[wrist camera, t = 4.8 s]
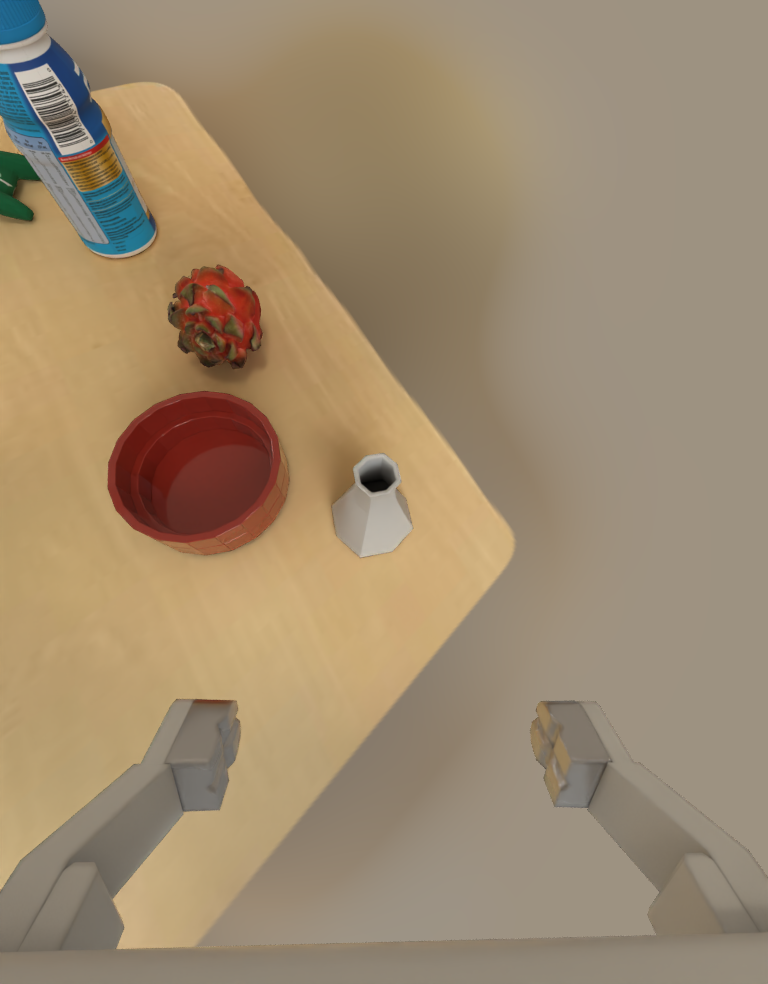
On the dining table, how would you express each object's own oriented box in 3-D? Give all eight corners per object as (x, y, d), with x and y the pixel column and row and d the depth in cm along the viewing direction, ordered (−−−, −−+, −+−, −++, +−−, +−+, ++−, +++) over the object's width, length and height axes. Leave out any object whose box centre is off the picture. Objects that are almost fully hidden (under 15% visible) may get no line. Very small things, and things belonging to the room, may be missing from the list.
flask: (355, 572, 34) (355, 545, 25) (318, 503, 36) (304, 454, 27) (426, 533, 36) (450, 494, 26) (386, 468, 38) (396, 411, 28)
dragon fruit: (239, 403, 41) (221, 330, 46) (294, 350, 38) (268, 277, 43) (156, 364, 34) (147, 283, 39) (215, 295, 31) (196, 217, 36)
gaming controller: (41, 188, 51) (-24, 150, 46) (48, 165, 48) (-20, 122, 44) (26, 239, 47) (-46, 203, 43) (33, 216, 45) (-43, 176, 41)
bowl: (119, 546, 33) (80, 531, 29) (166, 414, 38) (139, 382, 34) (274, 563, 34) (260, 551, 29) (301, 430, 38) (293, 401, 34)
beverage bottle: (75, 259, 44) (-130, -17, 26) (95, 209, 47) (-75, -72, 29) (151, 264, 45) (5, -5, 26) (166, 214, 48) (45, -59, 29)
